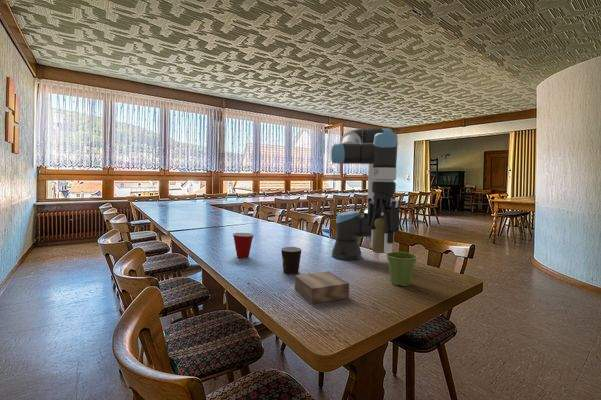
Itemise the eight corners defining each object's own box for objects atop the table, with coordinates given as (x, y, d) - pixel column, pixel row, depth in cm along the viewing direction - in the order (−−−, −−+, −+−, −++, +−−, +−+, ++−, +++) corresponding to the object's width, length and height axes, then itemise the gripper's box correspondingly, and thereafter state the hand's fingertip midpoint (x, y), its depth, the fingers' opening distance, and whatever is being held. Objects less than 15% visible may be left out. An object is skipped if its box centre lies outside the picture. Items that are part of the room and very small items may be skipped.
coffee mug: (298, 276, 126) (299, 252, 125) (278, 274, 128) (278, 250, 127) (304, 268, 137) (304, 246, 137) (285, 266, 139) (285, 244, 138)
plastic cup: (258, 256, 156) (258, 232, 155) (243, 260, 147) (244, 236, 146) (242, 253, 162) (242, 230, 161) (227, 257, 153) (227, 233, 152)
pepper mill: (369, 248, 105) (370, 217, 104) (386, 248, 106) (388, 217, 105) (375, 253, 99) (376, 219, 98) (393, 253, 100) (395, 219, 99)
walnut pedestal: (328, 284, 117) (328, 271, 117) (348, 297, 104) (349, 283, 104) (294, 288, 112) (295, 275, 111) (311, 303, 99) (312, 288, 98)
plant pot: (421, 283, 120) (423, 255, 119) (407, 291, 112) (409, 260, 111) (393, 276, 128) (395, 249, 128) (379, 282, 120) (380, 254, 119)
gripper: (357, 180, 108) (355, 245, 110) (394, 181, 90) (391, 258, 92) (375, 180, 111) (372, 243, 113) (414, 181, 94) (410, 256, 95)
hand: (381, 250), depth 102 cm, fingers closed on pepper mill, 6 cm apart
